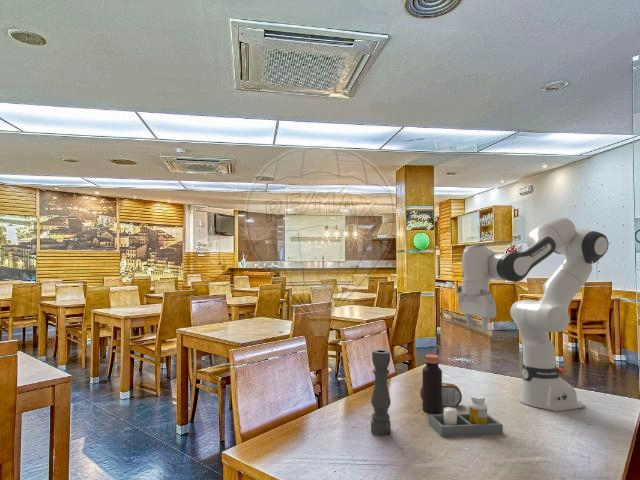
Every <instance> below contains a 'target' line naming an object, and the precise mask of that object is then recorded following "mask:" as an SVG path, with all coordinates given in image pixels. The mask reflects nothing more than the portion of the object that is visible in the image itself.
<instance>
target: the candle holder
mask: <svg viewBox="0 0 640 480" xmlns="http://www.w3.org/2000/svg"><path fill="white" fill-rule="evenodd" d="M371 354H372V355H371V357H372V360H371V361H372V364H373V366H374V368H373V369H372V372H373V374H374V387H373V391H372V395H371V399H370V400H371V402H370V403H371V406H372V407H373V410H374V412H372V414H371V420H370V432H371V434H373V435H375V436H379V437H385V436H390V434H391V429H392V428H391V424H392V423H391V420H390V419H391V417H390V415H389V413H388V411H389V408H390V407H391V403H392V402H391V396H390V393H389V388H388V387H389V386H388V375H389V374H390V370H389V369H388V368H389V366H390V363H391V352H390V350H387V349H372V351H371Z"/></svg>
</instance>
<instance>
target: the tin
mask: <svg viewBox="0 0 640 480" xmlns="http://www.w3.org/2000/svg"><path fill="white" fill-rule="evenodd" d="M419 395H420V399H421V400H422V401H423V385H422V386H421V388H420V390H419ZM462 399H463V395H462V392H461V390H460V388H459V386H457V385H456V384H454V383H450V382H449V383H448V382H444V383H443V382H442V407H452V406H453V407H454V406H455V407H457V406H459V405H460V404H461V402H462Z"/></svg>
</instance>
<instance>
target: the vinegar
mask: <svg viewBox="0 0 640 480" xmlns="http://www.w3.org/2000/svg"><path fill="white" fill-rule="evenodd" d="M424 362H425V366H424V367H423V368H422V370H421V371H422V386H423V400H422V412H424V413H427V414H429V415H437V414H443V406H442V383H443V371H442V369H441V367H440V366H439V364H440V356H439V355H438V354H437V355H436V354H425V355H424Z"/></svg>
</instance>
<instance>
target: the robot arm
mask: <svg viewBox="0 0 640 480" xmlns="http://www.w3.org/2000/svg"><path fill="white" fill-rule="evenodd" d="M525 240H526V245H527V248H526V249H523V251H519V252H507V253H504V252H503V253H498V252H496V251H493V250H491V249H489V248H488V247H487V246H486V245H485V244H484V243H483V244H482V243H481V244H478V243H477V244H472V245H467V246H466V247H464V249H463V251H462V258H461V260H462V264H461V266H462V267H461V268H462V272H463V277H462V284H460V285H459V286H457V287H456V293H458V294H457V305H458V309H459V312H460V313H464V317H465V319H466V325H467V326H469V327H473V326H474V320H473V318H472V316H475V317H480V318H481V324H480V325H479V326H480V328H479V329H480V330H481V331H487V330H488V324H489V322H490V319H495V318H496V316H497V307H496V300H495V298H494V296H493V294H492V293H491V291H490V286H489V285H490V284H489V283H490V280H497V281H507V282H512V283H513V282H514V283H518V282H520V281H523V280H524V279H525V278H526V277H527V276H528V274H529V273H530V271H531V270H532V269H533V268H534V267H535V266H537V265H538V264H540V263H541V262H542V261H544V260H545V259H547V258H548V257H549V256H551V255H552V254H553V253H555V254H558V255H565V257H564V260H563V262H562V263H561V264H559V265H558V267H557V268H556V269H555V270H554V271H553V272H552V273H551V274H550V276H549V277H548V278H547V280H546V281H545V282H544V283H543V285H542V290H543V295H542V297H541V299H539V300H533V299H523V300H517V301H515V302H514V303H513V304H512V305H511V307H510V310H509V312H510V314H509V315H510V316H511V319H512V320H513V321H514V323H515V325H516V327H517V329H518V333H519V335H520V340H521V345H522V363H521V375H522V380H521V381H522V382H521V389H520V395H519V396H518V400H519V402H521V403H522V404H525V405H527V406H530V407H535V408H540V409H545V410H549V411H554V412H561V411H568V410H574V409H582V408H581V407H583V408H585V403H584V402H582V400H579V399H578V396H577V392H576V390H575V388H574V386H572V385H571V384H569V383H568V382H567V381H566V380H564V379H563V378H562V377H560V374H561V375H565V374H566V369H565V368H562V367H559V368H558V367H557V366H556V348H555V345H554V344H553V342H552V340H550V338H549V336H548V334H547V333H559V332H563V331H565V330H566V329H567V328H568V326H569V325H570V320H571V318H570V314H569V312H568V309H569V307H570V304H571V302H572V301H573V299H574V298H575V297H576V295H577V294H578V293H579V291H580V290H581V289H582V287H583V286H584V285H585V284H586V282H587V280H588V279H589V277H590V275H591V273H592V270H593V265H592V264H595V263H598V261H600V259H601V258H603V257H604V255H605V254H606V253H607V251H608V250H609V240H608V237H607V236H606V235H605V234H603V233H601V232H599V231H595V230H587V229H582V228H581V229H579V228H576V226H575V224H574V222H573V221H572V220H570V219H569V218H566V217H556V218H553V219H550V220H547V221H546V222H544V223H542V224H540V225H538V226H535V227H534V228H533V229H531V231H529V232H528V233H527V235H526V238H525Z"/></svg>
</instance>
